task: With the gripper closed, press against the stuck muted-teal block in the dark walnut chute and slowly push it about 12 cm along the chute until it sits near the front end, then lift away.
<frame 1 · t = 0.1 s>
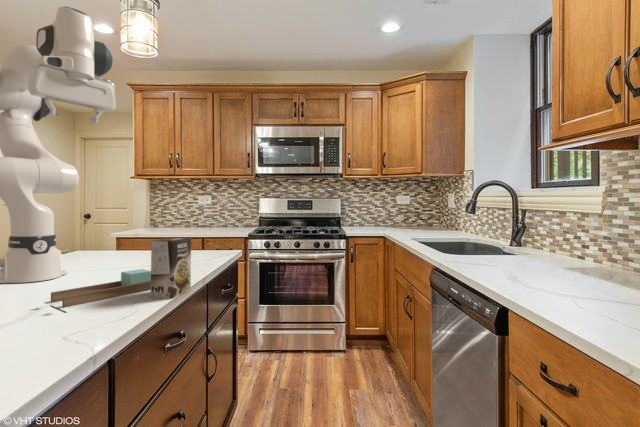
hand: (75, 120, 97), 48 cm above the countertop, fingers open, 8 cm apart
coffee box: (171, 298, 95), on the countertop
jammed block: (136, 280, 99), point 4 cm above the countertop, slide at 0.0 cm
chute: (110, 298, 93), on the countertop
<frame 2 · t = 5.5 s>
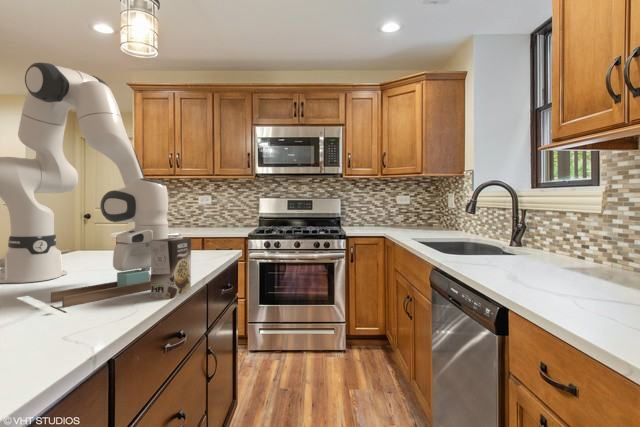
hand: (151, 281, 103), 3 cm above the countertop, fingers closed
jammed block: (132, 281, 98), point 4 cm above the countertop, slide at 1.1 cm, touching gripper
everything else where it was.
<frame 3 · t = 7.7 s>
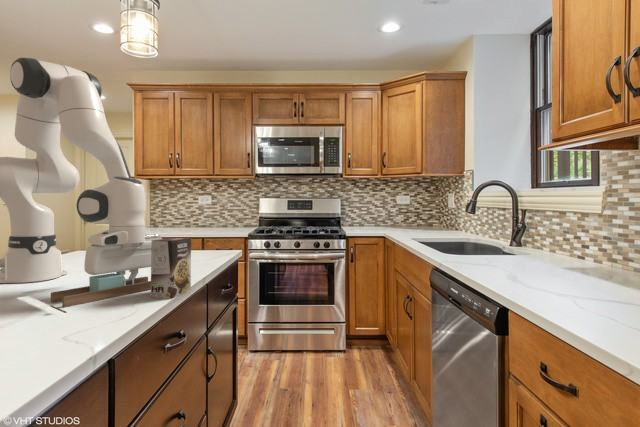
hand: (127, 286, 97), 3 cm above the countertop, fingers closed
jammed block: (106, 285, 93), point 4 cm above the countertop, slide at 8.0 cm, touching gripper
everything else where it was.
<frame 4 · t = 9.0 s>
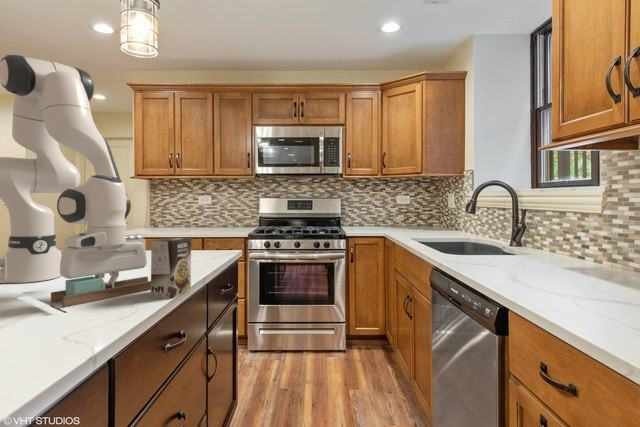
hand: (106, 289, 93), 3 cm above the countertop, fingers closed
jammed block: (83, 289, 88), point 4 cm above the countertop, slide at 13.4 cm, touching gripper
everything else where it was.
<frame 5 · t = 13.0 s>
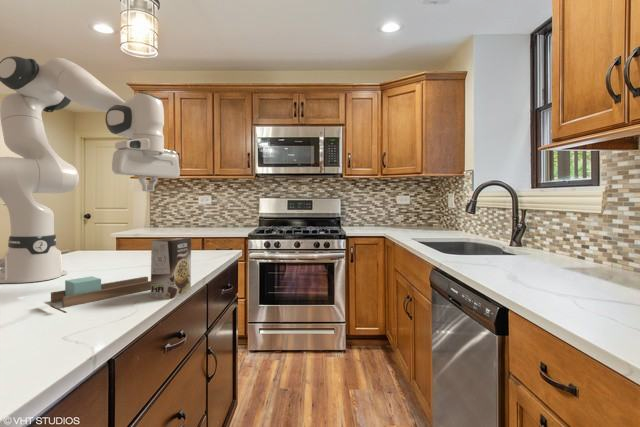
hand: (148, 191, 110), 29 cm above the countertop, fingers closed
jammed block: (83, 289, 88), point 4 cm above the countertop, slide at 13.5 cm
everything else where it was.
at the end: jammed block slide at 13.5 cm; coffee box moved 0.2 cm from its start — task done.
